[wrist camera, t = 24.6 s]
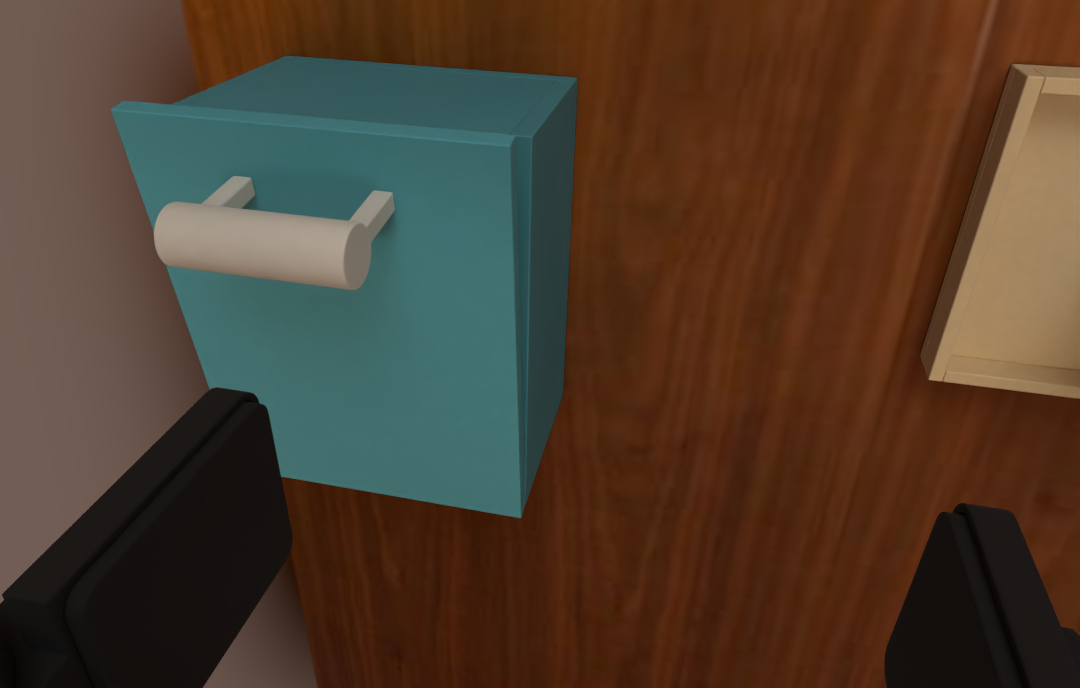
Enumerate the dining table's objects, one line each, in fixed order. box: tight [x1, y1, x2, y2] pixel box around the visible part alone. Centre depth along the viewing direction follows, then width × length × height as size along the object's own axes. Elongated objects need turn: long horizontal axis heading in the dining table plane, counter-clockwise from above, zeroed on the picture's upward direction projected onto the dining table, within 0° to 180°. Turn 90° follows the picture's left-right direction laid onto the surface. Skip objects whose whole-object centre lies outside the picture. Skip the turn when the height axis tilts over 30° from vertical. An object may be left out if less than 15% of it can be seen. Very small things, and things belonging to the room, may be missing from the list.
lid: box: [111, 101, 525, 518], centre depth 29 cm, size 17×14×5 cm
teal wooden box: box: [171, 56, 578, 504], centre depth 36 cm, size 17×14×9 cm
